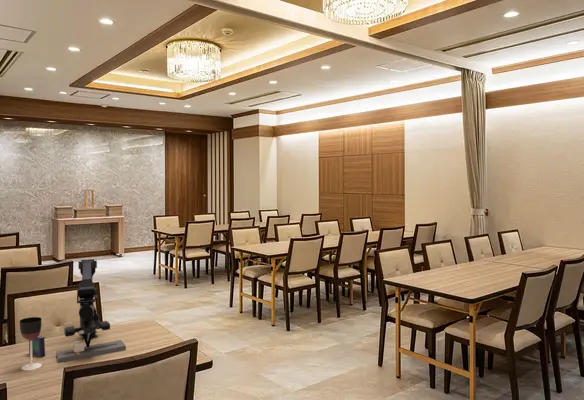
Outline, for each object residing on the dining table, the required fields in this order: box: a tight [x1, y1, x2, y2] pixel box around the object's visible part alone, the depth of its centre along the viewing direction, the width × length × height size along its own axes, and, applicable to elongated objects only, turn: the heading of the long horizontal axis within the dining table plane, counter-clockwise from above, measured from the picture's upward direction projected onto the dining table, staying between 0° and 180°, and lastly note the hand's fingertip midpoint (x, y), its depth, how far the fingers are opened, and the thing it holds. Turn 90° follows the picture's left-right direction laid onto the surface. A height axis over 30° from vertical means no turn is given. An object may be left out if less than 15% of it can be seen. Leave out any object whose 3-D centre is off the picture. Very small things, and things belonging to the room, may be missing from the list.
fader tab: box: [72, 339, 85, 353], centre depth 204 cm, size 4×4×4 cm
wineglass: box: [19, 316, 43, 371], centre depth 191 cm, size 8×9×20 cm
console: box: [55, 339, 127, 364], centre depth 207 cm, size 10×28×2 cm, turn 123°
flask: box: [28, 333, 46, 358], centre depth 205 cm, size 9×3×11 cm, turn 65°
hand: (87, 347), depth 206 cm, fingers closed
